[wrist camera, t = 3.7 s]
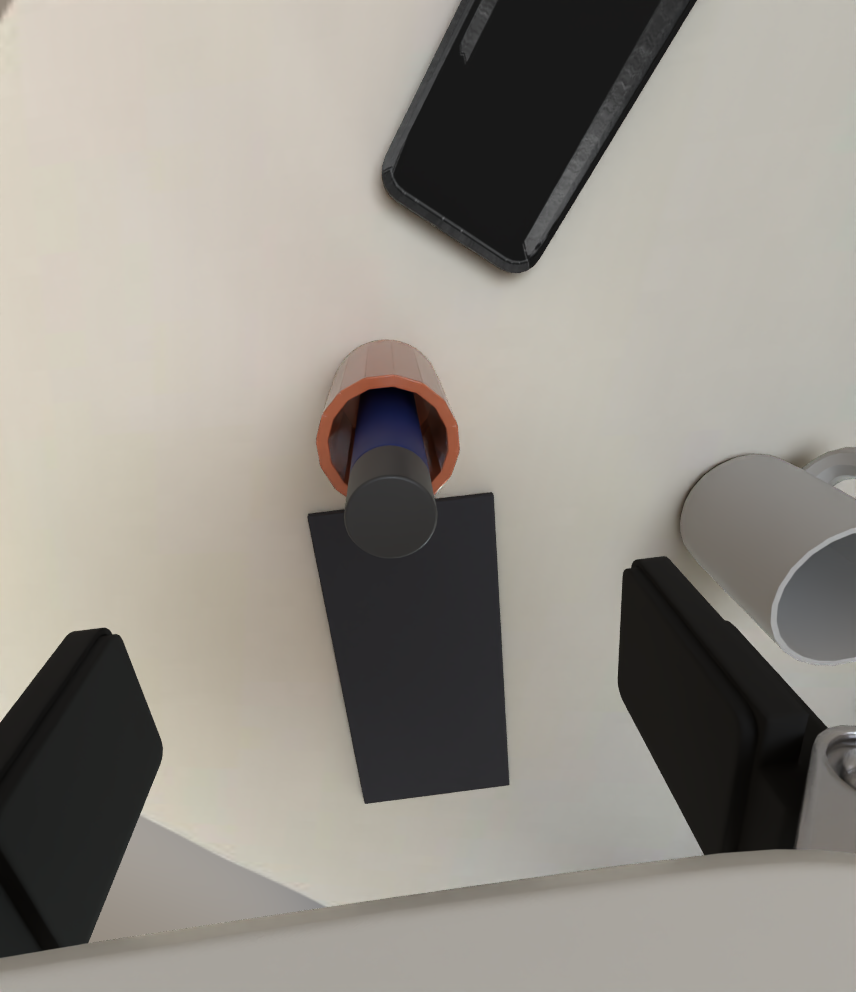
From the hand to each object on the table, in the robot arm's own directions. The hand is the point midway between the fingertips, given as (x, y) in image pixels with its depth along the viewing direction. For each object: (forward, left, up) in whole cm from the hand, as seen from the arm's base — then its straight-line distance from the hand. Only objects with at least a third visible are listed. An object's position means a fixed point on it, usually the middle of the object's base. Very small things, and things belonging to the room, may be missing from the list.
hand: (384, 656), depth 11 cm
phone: (-8, -13, -20) cm, 25 cm away
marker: (0, 0, -20) cm, 20 cm away
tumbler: (0, 0, -20) cm, 20 cm away
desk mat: (0, +17, -20) cm, 26 cm away
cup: (-20, +8, -20) cm, 30 cm away
